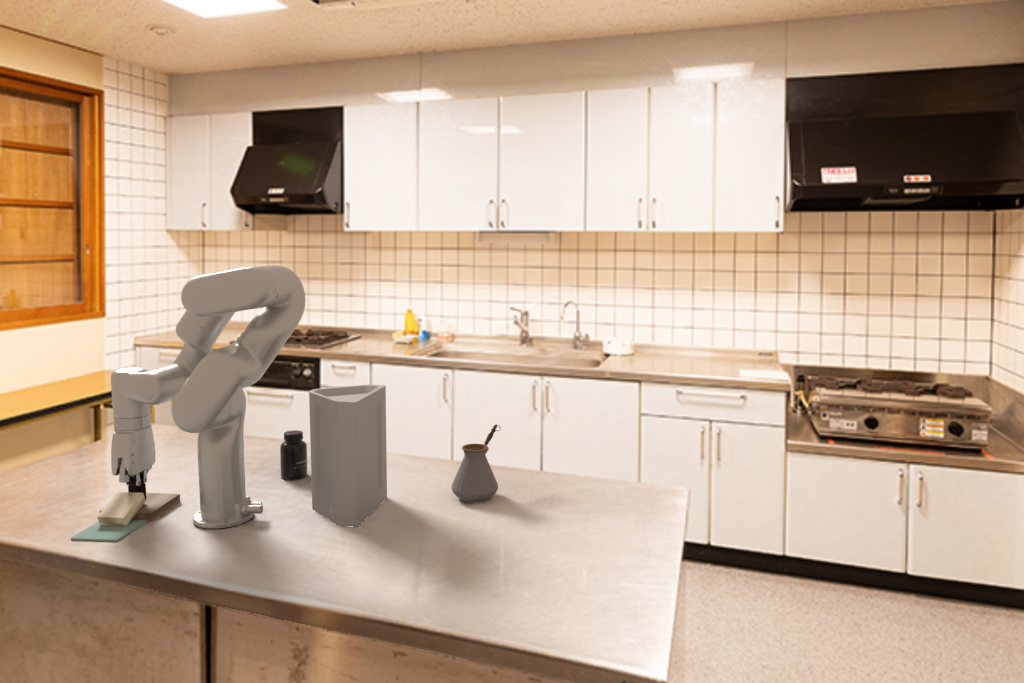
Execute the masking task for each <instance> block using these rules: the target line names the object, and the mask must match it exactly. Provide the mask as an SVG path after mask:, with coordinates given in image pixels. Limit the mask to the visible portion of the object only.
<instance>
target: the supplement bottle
mask: <svg viewBox="0 0 1024 683" xmlns="http://www.w3.org/2000/svg"><path fill="white" fill-rule="evenodd" d="M279 448H280V449H279V451H280V453H279V454H280V455H279V456H280V457H279V458H280V459H279V460H280V477H281V478H282V479H283V480H290V481H292V480H293V481H294V479H296V480H300V479H304V478H306V476H307V475H308V445H307V442H305V441H304V432H303V431H302V430H295V429H294V430H287V431H285V432H284V433H283V442H282V443H281V444H280V447H279Z"/></svg>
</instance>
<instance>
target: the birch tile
mask: <svg viewBox="0 0 1024 683" xmlns="http://www.w3.org/2000/svg"><path fill="white" fill-rule="evenodd" d="M145 502H146V500H145V497H144V494H143V493H136V492H128V491H117V492H116V493H115V494H114V496H112V498H111V499H110V500H109V502H108V503H107V504H106V505H105V506H104V507H103V508H104V509H103V508H102V509H103V510H102V509H101V510H102V511H101V512H100V513H98V515H97V516H96V518H97V520H98V521H99V523H100V525H110V526H127V525H128V524H129V523H130V521H131V520H132V519H133V517H134V516H135V515H136V513H137V512H138V511H139V509H140V508H141V507H142V505H143V504H144V503H145ZM98 521H97V522H98Z"/></svg>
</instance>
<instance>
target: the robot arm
mask: <svg viewBox="0 0 1024 683" xmlns="http://www.w3.org/2000/svg"><path fill="white" fill-rule="evenodd" d="M180 300H181V305H182V306H183V308H184V310H185V312H184V313H183V315H182V316H181V318H180V319H179V320H178V322H177V324H176V326H175V332H176V335H177V336H178V338H179V339H180V340H181V341H182V342H183V343H184V344H183V346H182V349H181V351H180V352H179V353H178V355H177V357H176V358H175V360H174V361H173V362H172V363H171V365H168V366H164V367H160V368H156V369H154V370H149V371H148V370H147V369H145V368H144V367H136V366H135V367H133V366H132V367H124V368H122V367H121V368H118V369H115V370H113V371H112V372H111V375H110V387H111V402H112V404H111V405H112V417H113V418H112V420H113V431H114V432H112V437H111V448H110V449H111V452H110V455H111V456H110V463H111V475H113V476H119V477H118V482H119V483H120V484H121V483H123V484H125V485H126V487H127V489H128V491H127V492H136V493H143V494H144V497H145V500H146V493H147V489H146V488H147V485H146V483H147V480H148V473H149V471H151V469H152V468H153V465H155V463H156V445H155V444H156V443H155V439H154V432H153V427H152V426H153V424H152V423H153V422H152V412H151V411H152V410H151V406H157V405H161V404H162V405H163V404H164V403H168V402H170V401H172V400H173V402H172V406H171V407H172V408H171V416H172V420H173V422H174V424H175V425H176V426H177V427H178V428H179V429H180V430H181V431H184V432H185V433H190V434H197V444H196V445H197V446H196V447H197V466H198V467H197V468H198V485H199V486H198V487H199V491H198V492H199V506H200V509H199V510H198V511H196V513H194V515H193V517H192V519H193V524H194V525H195V526H196V527H199V528H204V529H213V530H214V529H225V528H230V527H235V526H239V525H241V524H245V523H246V522H248V521H250V520H251V519H252V518H253V517H254V515H261V514H262V513H263V511H264V506H263V502H262V501H259V502H258V501H252V500H251V495H250V494H246V492H247V491H246V490H247V489H246V473H245V472H246V468H245V442H244V440H245V439H244V436H245V435H244V432H245V431H244V428H245V418H246V411H247V397H246V394H245V392H244V389H245V388H247V387H251V386H252V385H254V384H256V383H258V381H260V380H261V378H262V377H263V376H264V374H265V373H266V371H267V370H268V369H269V367H270V366H271V364H272V363H273V362H274V360H275V359H276V357H277V356H278V354H279V353H281V350H282V348H283V347H284V345H285V344H286V342H288V340H289V339H290V337H291V336H292V334H294V331H295V330H296V328H297V327H298V325H299V324H300V322H301V320H302V318H303V315H304V313H305V308H306V293H305V288H304V284H303V283H302V280H301V279H300V277H299V276H298V275H297V273H295V271H293V270H292V269H290V268H288V267H286V266H282V265H275V264H274V265H273V264H272V265H259V266H257V265H255V266H246V267H245V266H244V267H239V268H235V269H230V270H229V269H228V270H224V271H220V272H216V273H215V272H214V273H208V274H202V275H201V274H200V275H196V276H194V277H192V278H190V279H189V280H187V282H186V283H185V284H184V286H183V288H182V290H181V296H180ZM260 308H261V310H260V311H259V312H258V313H257V314H256V315H255V316H254V317H253V318H252V319H251V320H250V321H249V323H248V324H247V326H246V327H245V329H244V330H243V331H242V333H241V334H240V336H239V337H238V338H237V339H236V340H235V341H234V342H233V343H231V344H229V345H226V346H223V347H219V348H217V349H214V348H213V346H214V345H215V343H216V341H218V338H219V337H220V335H221V334H222V332H223V331H224V330H225V328H226V327H227V325H228V324H229V322H230V321H231V320H232V318H233V317H234V315H235V313H236V312H237V313H238V312H242V311H243V312H244V311H249V310H255V309H260Z"/></svg>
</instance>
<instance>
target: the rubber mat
mask: <svg viewBox="0 0 1024 683" xmlns="http://www.w3.org/2000/svg"><path fill="white" fill-rule="evenodd" d="M147 522H148V521H147V520H133V519H132V520H131V521H130V523H129V524H128V525H127V526H110V525H100V523H99V521H97V522H96V523H93V524H92V525H90V526H88V527H87V528H85V529H83V530H81V531H80V532H79V533H76V534H75V535H74V536H72V537H71V538H70V541H85V540H89V541H90V542H93V541H94V542H112V541H118V542H119V541H120V539H121V538H122V539H123V537H124V536H125V537H127V536H128V535H130V534H131V533H133V532H134V531H135V530H137V529H138V528H140V527H142V526H143V525H144V524H146V523H147ZM127 534H128V535H127ZM126 535H127V536H126ZM125 537H124V538H125ZM122 539H121V540H122ZM91 540H93V541H91ZM89 541H88V542H89Z"/></svg>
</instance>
